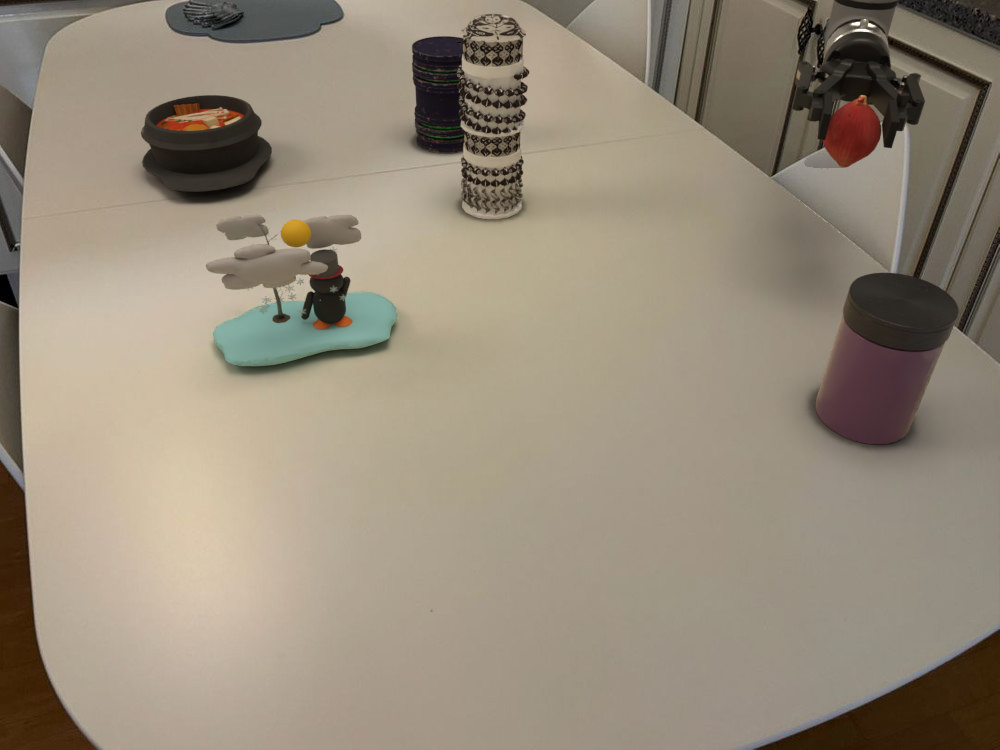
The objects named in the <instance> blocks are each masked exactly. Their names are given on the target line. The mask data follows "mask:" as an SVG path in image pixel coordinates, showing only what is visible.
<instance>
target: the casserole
mask: <svg viewBox="0 0 1000 750" xmlns="http://www.w3.org/2000/svg"><path fill="white" fill-rule="evenodd" d="M262 122H263V120H262V119H261V117H260V116H259V115H258V114H257V113H256V112H255V111H254V109H253V107H252V105H251V104H250V103H249V102H247V100H243V99H241V98H238V97H234V96H229V95H219V94H217V95H216V94H207V95H206V94H204V95H202V94H201V95H192V96H186V97H180V98H176V99H171V100H169V101H166V102H163V103H160V104H159V105H157V106H155V107H153V108H152V109H151V110H149V111H148V112H147V113H146V115H145V117H144V124H143V125H144V126H143V127H142V128H141V131H140V135H141V138H142V139H143V140H144V142H145V143H147V144H148V145H149V147H150V149H148V150H147V151H146V152H145V154H144V156H143V158H142V162H141V163H142V167H143V168H144V169H145V171H146V172H147V173H149V174H150V175H153V177H155V178H157V179H159V180H160V181H161V182H162V183H163V184H164V186H165V187H166V188H167V189H170V190H173V191H176V192H183V193H193V192H194V193H200V192H201V193H202V192H213V191H219V190H226V189H230V188H234V187H238V186H241V185H244V184H246V183H248V182H250V181H251V180H253V179H254V178H255V177H256V175H257V173H258V171H259V169H260V168H261V166H262V165H264V164H265V163H266V161H268V159H270V157H271V155H272V154H273V153H272V151H273V150H272V146H271V144H270V142H268V141H267V140H266V139H264V137H262V136H259V131H260V129H261V128H262Z"/></svg>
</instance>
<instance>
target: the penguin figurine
mask: <svg viewBox="0 0 1000 750" xmlns="http://www.w3.org/2000/svg"><path fill="white" fill-rule="evenodd" d="M265 223H266V218H265V217H264V216H262V215H260V214H249V215H243V216H240V215H235V216H229V217H226V218H223V219H221V220H219V221H218V222H217V224H216V225H215V226H216V230H217V231H218V232H220V233H222V234H224V236H225V237H226V239H227V240H228V241H240V240H244V239H246V238H261V237H265V240H266V243H256V244H251V245H248V246H243V247H241V248H239V249H236V250H234V251H233V255H234V256H229V257H222V258H218V259H213V260H212V261H209V262H206V264H205V268H206V270H207V271H208V272H210V273H212V274H218V275H223V276H222V277H221V283H222V284H223V286H224V288H225V289H226V290H231V291H237V290H238V291H239V290H247V291H248V292H249V291H250V289H252V290H253V289H254V288H256V287H258V286H260V285H262V286H263V288H265V289H272V291H273V293H274V297H275V302H272V301H271V297H267V296H266V295H265V297H263V298H261V300H262V301H261V303H264V304H261V305H260V306H256V307H253V308H251V309H249V310H248V311H245V312H244V313H242V314H240V315H238V316H236V317H233V318H231V319H228V320H225V321H222V322H221V323H219V324H218V325H217V326H216V327H215V328H214V330H213V331H212V337H213V340H214V343H215V345H216V346H217V347H218V349H219V350H220V351H221V352H222V354H223V356H224V359H225V361H226V362H227V363H228V364H230V365H234V366H239V367H267V366H275V365H280V364H284V363H289V362H292V361H295V360H300V359H302V358H306V357H308V356H309V357H311V356H314V355H316V354H320V353H325V352H329V351H337V350H354V349H362V348H367V347H370V346H373V345H377V344H379V343H382V342H385V341H387V340H388V339H390V338H391V331H392V327H393V326H394V325H395V324H396V321H397V319H398V313H397V307H396V305H395V304H394V303H393V302H392V301H391V300H389V299H388V298H387V297H385V296H384V295H381V294H379V293H375V292H370V291H355V292H348V291H349V288H350V286H351V282H352V281H351V278H350V277H349V276H344V277H343V275H342V274H343V272H344V267H343V266H342V265H340V264H339V259H338V251H337V248H335V247H334V246H333V245H339V246H345V245H352V244H356V243H359V242H360V241H362V232H361V230H360V229H359V228H357V227H355V226H358V225H359V220H358V218H357V217H356V216H354V215H352V214H337V215H330V216H325V215H321V216H313V217H309V218H307V219H304V220H301V219H291V220H289V221H286V222H285V223H284V224H283V225H282V226H281V229H280V238H281V240H282V242H283V243H284V244H285V245H287V246H288V247H291V248H281V249H276V248H275V247H274V246H273V245H270V241H271V240H273V241H275V240H276V237H277V236H278V235H279V233H276V234H275V235H274V236H273V237H272V238H270V239H268V237H270V235H269V233H270V232H269V228H268V226H267V225H265ZM267 236H268V237H267ZM305 245H306V247H307V248H308V249H312V250H315V249H318V250H315V251H313V252H311V251H309V250H308V249H303V248H301V247H304V246H305ZM331 246H333V247H332V248H330V249H324V248H327V247H331ZM298 275H300V276H309V277H310V278H309V286H310V288H311V289H312V290H313V291H308V292H307V293H306V296H305V299H304V300H294V299H298V297H296V296H297V294H293V293H291V292H292V291H295V289H294V287H295V285H292V286H290V285H291V284H292V283H295V282H296V281H297V282H296V284H297V285H298V284H299V285H300V286H302V284H304V283H305V282H303V281H304V280H305V279H301V278H300V277H299V280H297V277H296V276H298ZM278 288H279V290H278ZM282 288H284V289H285V294H286V293H291V294H287V297H288V298H287V299H288V300H284V299H285V298H284V297H282V296H283V295H284V290H282ZM280 291H281V294H280V295H279V292H280Z"/></svg>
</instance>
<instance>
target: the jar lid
mask: <svg viewBox="0 0 1000 750" xmlns="http://www.w3.org/2000/svg"><path fill="white" fill-rule="evenodd" d="M959 312H960V310H959V306H958V303H957V301H956V300H955V299H954V297H953V296H952V295H951V294H949V293H948V292H947V291H946V290H944V289H943V288H941V287H940V286H938V285H936V284H934V283H932V282H929V281H927V280H924V279H922V278H920V277H916V276H912V275H908V274H905V273H904V274H903V273H897V272H873V273H867V274H863V275H861V276H859V277H857V278H855V279H854V280H853V281H852V283H851V284H850V286H849V289H848V292H847V295H846V297H845V301H844V304H843V308H842V315H843V316H844V318H845V320H846V322H847V323H848V325H849V326H850V327H851V328H852V329H853V330H854V331H856V332H857V333H858V334H860V335H861V336H863V337H865V338H867V339H869V340H871V341H873V342H875V343H878V344H881V345H883V346H887V347H891V348H895V349H901V350H911V351H920V350H929V349H933V348H936V347H939V346H941V345H942V344H944V343H945V344H946V342H947V341H948V340H949V338H950V336H951V333H952V331H953V328H954V326H955V324H956V322H957V319H958V317H959ZM945 344H944V345H945Z"/></svg>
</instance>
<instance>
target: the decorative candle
mask: <svg viewBox="0 0 1000 750" xmlns="http://www.w3.org/2000/svg"><path fill="white" fill-rule="evenodd" d="M460 30H461V31H460V35H461V36H462V38H463V52H464V53H463V55H462V65H460V66H459V67H458V72H457V77H459V83H458V84H457V87H458V88H459V93H460V94H461V95H460V99H459V104H460V107H461V109H460V111H459V114H460V119H461V127H462V128H463V129H464V130H465V134H464V140H465V142H464V146H463V151H462V153H463V154H462V157H461V159H460V163H461V167H462V168H461V169H460V171H461V177H462V179H461V180H460V181H461V182H460V183H461V184H460V185H461V194H460V195H461V199H462V203H461V208H462V209H463V210H464V212H465V213H466V214H468V215H470V216H471V217H474V218H479V219H483V220H501V219H507V218H510V217H513V216H516V215H517V214H518V213H519V212H520V211H521V210H522V206H523V205H522V203H523V202H522V198H523V196H524V195H523V193H522V188H523V187H524V183H523V179H522V178H523V177H522V176H523V175H524V170H523V165H524V163H525V162H524V159H523V155H522V143H521V131H522V130H523V129H524V128H525V118H526V116H527V114H526V112H525V111H524V110H523V109H522V108H521V107H523V106H525V105H526V103H527V102H528V98H527V97H526V96H525V95H524V94H526V93H527V91H528V88H529V87H528V85H527V83H525V82H524V81H523V80H524V79H525V78H527V77H528V76H529V75H530V69H528V68H527V67H526V66H524V64H525V63H524V61H525V55H524V54H523V53H524V52H523V51H524V38H525V37H526V35H527V30H525V29H523V28H522V27H521V26H520V24H519V22H518V21H517V20H516V19H515V18H513V16H509V15H505V14H501V13H485V14H479V15H477V16H474V17H473V18H471V19H470V20H469V21H468V24H467V25H466V26H465V27H464V28H462V29H460ZM462 73H463V74H464V75H462ZM462 84H464V85H465V89H464V86H463V87H462ZM464 100H465V102H464ZM464 111H465V113H464Z"/></svg>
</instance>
